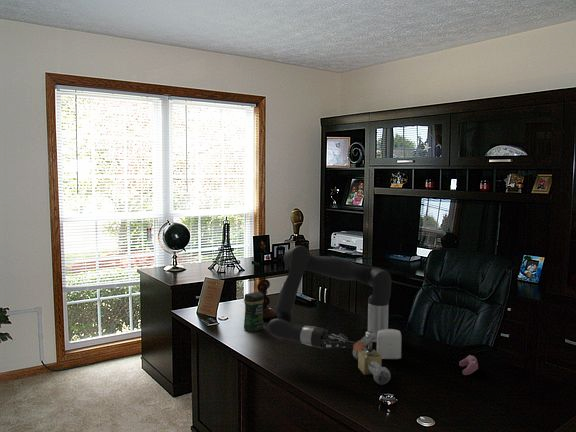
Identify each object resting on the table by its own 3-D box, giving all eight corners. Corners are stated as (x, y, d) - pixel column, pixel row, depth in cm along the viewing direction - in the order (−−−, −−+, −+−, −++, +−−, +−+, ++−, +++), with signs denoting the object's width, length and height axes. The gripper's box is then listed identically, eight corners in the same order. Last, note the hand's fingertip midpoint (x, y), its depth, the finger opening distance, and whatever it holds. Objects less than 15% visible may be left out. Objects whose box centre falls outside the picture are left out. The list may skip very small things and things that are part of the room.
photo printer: (377, 359, 201) (378, 331, 200) (375, 355, 205) (376, 327, 204) (402, 360, 201) (402, 331, 200) (399, 356, 205) (400, 327, 204)
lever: (367, 336, 192) (367, 330, 191) (376, 337, 190) (376, 331, 190) (352, 350, 177) (352, 343, 177) (361, 352, 175) (361, 345, 175)
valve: (351, 360, 201) (352, 330, 199) (367, 358, 202) (368, 329, 201) (373, 385, 177) (374, 352, 176) (391, 383, 179) (392, 351, 177)
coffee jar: (252, 333, 232) (252, 295, 230) (241, 329, 237) (241, 293, 236) (266, 328, 239) (266, 292, 237) (255, 325, 245) (255, 289, 243)
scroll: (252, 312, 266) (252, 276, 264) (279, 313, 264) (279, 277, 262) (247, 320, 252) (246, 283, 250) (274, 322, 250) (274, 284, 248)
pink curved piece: (472, 380, 186) (481, 365, 184) (461, 374, 186) (470, 359, 185) (468, 369, 195) (476, 355, 194) (457, 364, 196) (466, 349, 195)
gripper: (306, 332, 182) (348, 341, 173) (322, 322, 193) (362, 330, 184) (306, 351, 183) (348, 361, 174) (322, 340, 194) (362, 349, 185)
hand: (355, 345), depth 179 cm, fingers closed
